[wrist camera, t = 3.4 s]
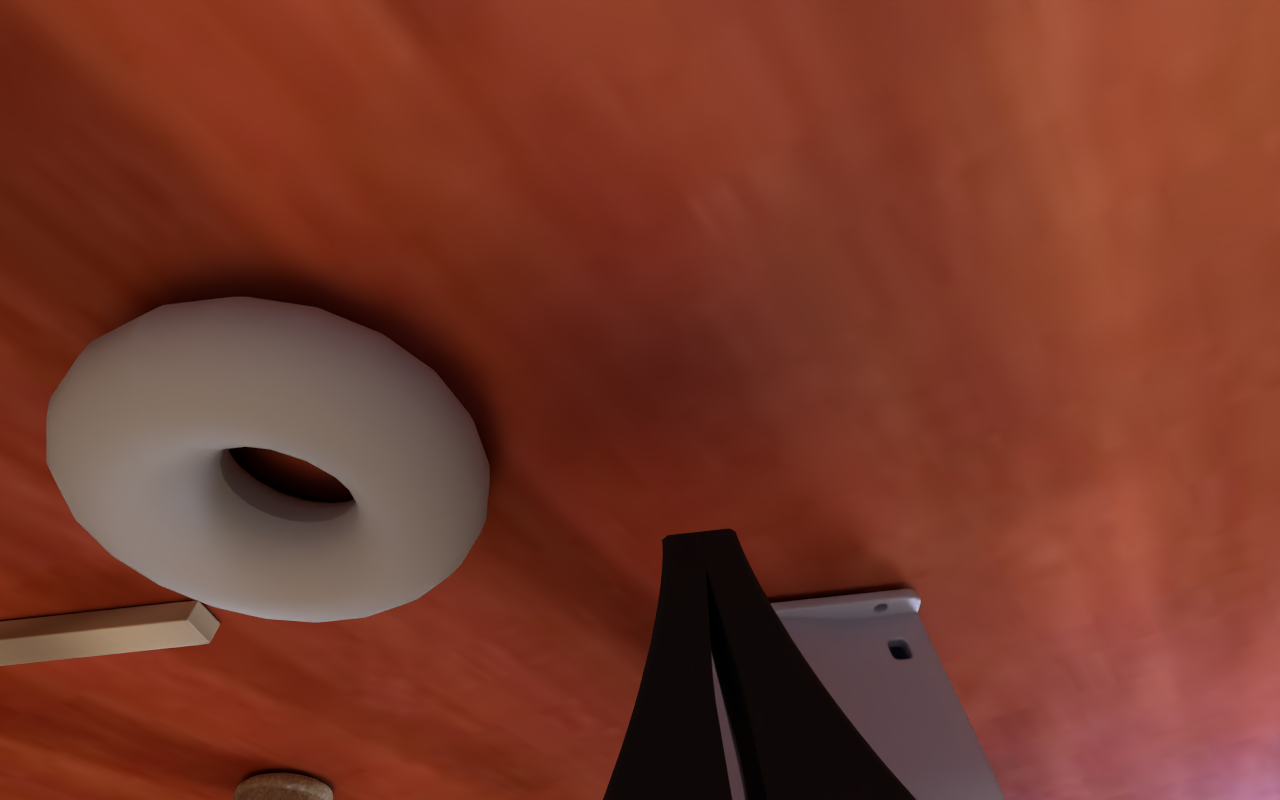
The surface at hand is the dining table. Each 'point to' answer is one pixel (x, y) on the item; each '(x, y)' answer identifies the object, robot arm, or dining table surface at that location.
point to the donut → (281, 421)
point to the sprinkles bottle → (282, 788)
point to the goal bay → (106, 632)
